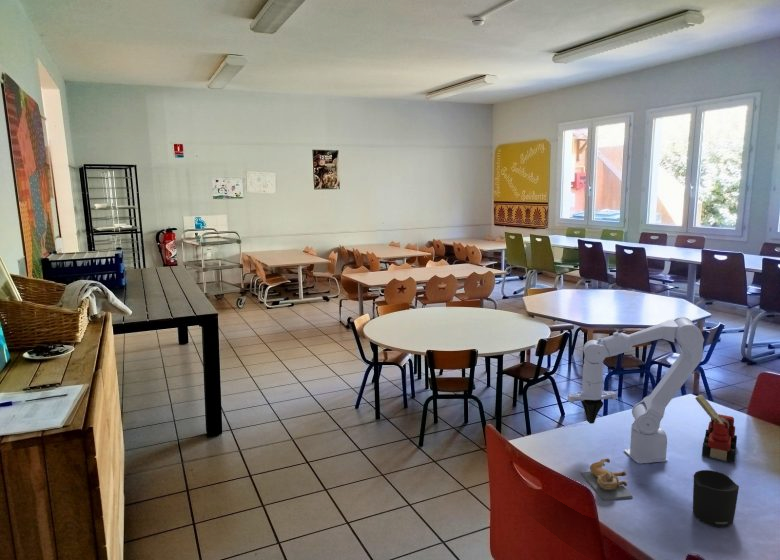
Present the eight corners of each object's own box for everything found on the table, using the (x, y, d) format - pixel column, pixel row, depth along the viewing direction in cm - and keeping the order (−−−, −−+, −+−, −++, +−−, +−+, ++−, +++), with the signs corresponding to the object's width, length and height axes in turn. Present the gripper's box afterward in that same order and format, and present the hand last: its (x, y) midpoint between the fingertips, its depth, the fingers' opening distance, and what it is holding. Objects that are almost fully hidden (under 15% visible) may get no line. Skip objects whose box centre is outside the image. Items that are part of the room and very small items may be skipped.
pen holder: (686, 518, 132) (689, 481, 131) (696, 501, 139) (699, 466, 137) (730, 534, 126) (734, 495, 124) (738, 515, 133) (742, 478, 131)
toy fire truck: (736, 445, 168) (742, 391, 165) (733, 466, 155) (739, 409, 152) (695, 436, 174) (699, 384, 171) (689, 456, 162) (693, 401, 159)
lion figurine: (633, 471, 142) (601, 474, 141) (634, 491, 142) (602, 495, 140) (604, 455, 156) (575, 458, 155) (605, 474, 156) (576, 476, 155)
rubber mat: (607, 471, 154) (607, 469, 154) (632, 497, 141) (632, 495, 141) (580, 474, 153) (580, 472, 153) (603, 500, 140) (603, 498, 140)
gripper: (608, 373, 167) (606, 414, 169) (563, 376, 165) (562, 418, 168) (620, 382, 160) (618, 424, 162) (574, 385, 158) (572, 428, 161)
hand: (590, 422), depth 165 cm, fingers closed
